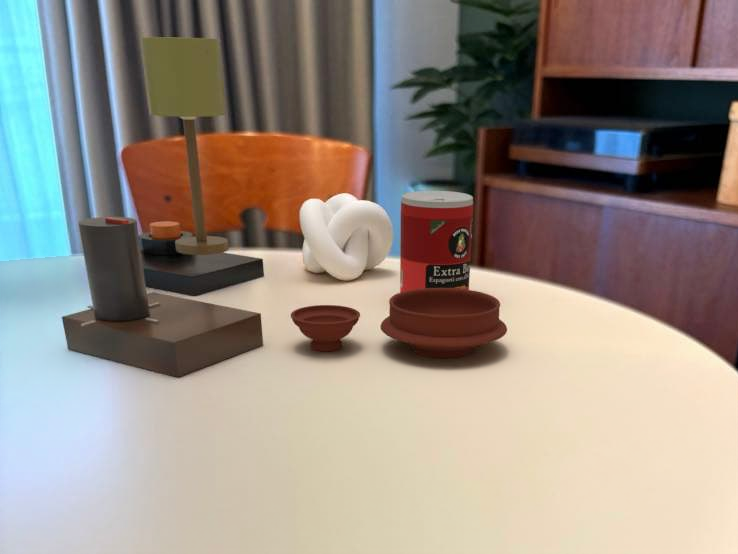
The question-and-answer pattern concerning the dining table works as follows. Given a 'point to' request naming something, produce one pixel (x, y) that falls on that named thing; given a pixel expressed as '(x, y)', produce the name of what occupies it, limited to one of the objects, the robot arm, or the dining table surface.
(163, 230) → the lamp switch
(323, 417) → the dining table surface
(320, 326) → the pottery
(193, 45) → the desk lamp
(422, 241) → the canned food
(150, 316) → the panel
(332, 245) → the white knot sculpture
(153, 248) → the lamp base
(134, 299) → the dimmer knob
